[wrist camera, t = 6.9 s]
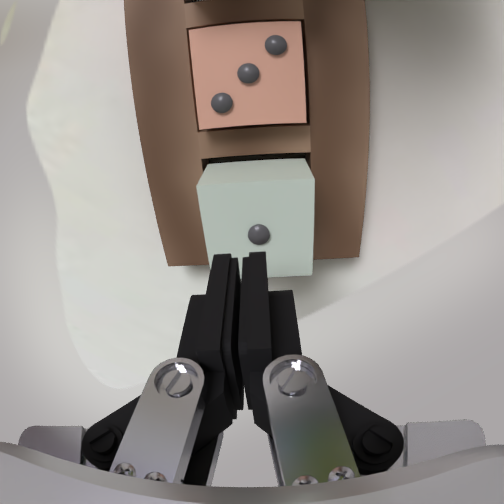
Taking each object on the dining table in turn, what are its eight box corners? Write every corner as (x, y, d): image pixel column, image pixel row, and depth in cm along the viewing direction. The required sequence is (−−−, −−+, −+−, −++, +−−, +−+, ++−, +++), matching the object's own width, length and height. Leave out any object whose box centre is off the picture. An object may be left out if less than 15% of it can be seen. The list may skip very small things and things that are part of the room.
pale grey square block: (304, 158, 14) (315, 180, 11) (304, 241, 17) (312, 277, 14) (207, 164, 14) (195, 187, 12) (219, 245, 17) (211, 281, 14)
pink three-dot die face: (293, 30, 12) (301, 20, 10) (298, 114, 15) (307, 123, 12) (201, 37, 13) (187, 29, 10) (209, 119, 15) (198, 130, 12)
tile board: (339, -79, 8) (348, -93, 6) (350, 239, 19) (358, 256, 17) (136, -62, 9) (123, -73, 7) (175, 248, 19) (168, 266, 18)
